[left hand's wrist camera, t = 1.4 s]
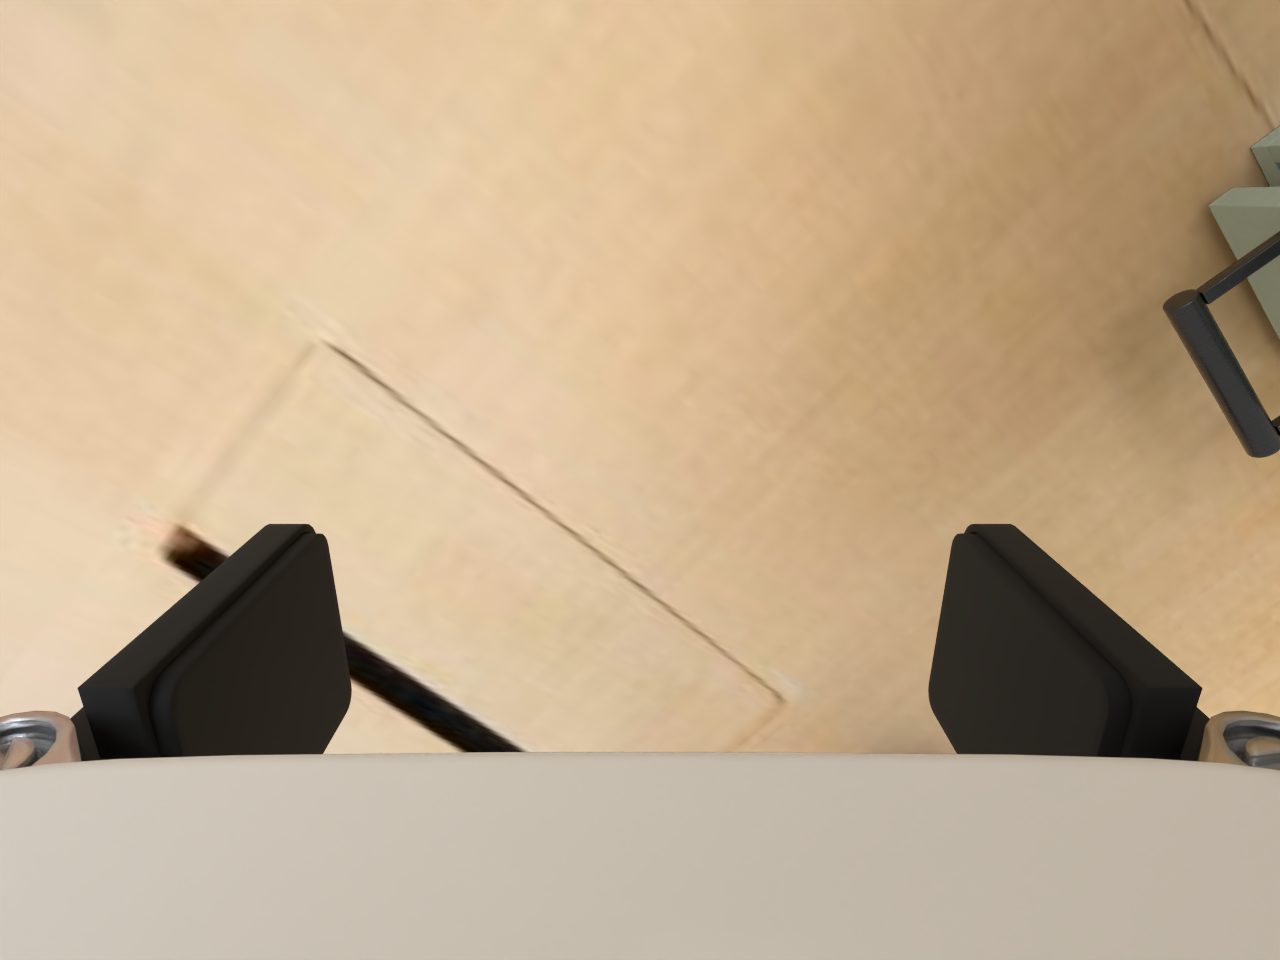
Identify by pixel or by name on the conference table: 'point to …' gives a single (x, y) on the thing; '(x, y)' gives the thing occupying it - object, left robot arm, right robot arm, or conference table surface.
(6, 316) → the conference table surface
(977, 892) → the left robot arm
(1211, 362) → the drawer
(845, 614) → the conference table surface
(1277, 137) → the cabinet
